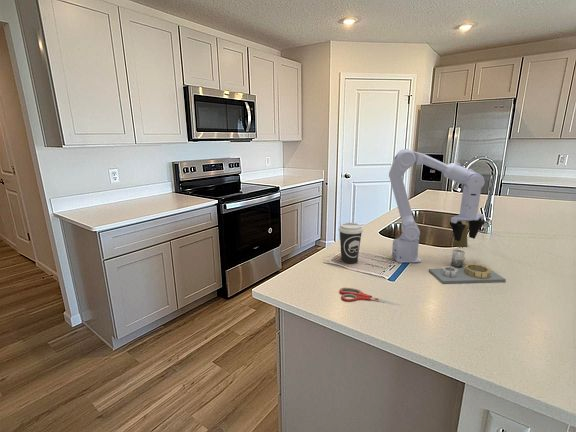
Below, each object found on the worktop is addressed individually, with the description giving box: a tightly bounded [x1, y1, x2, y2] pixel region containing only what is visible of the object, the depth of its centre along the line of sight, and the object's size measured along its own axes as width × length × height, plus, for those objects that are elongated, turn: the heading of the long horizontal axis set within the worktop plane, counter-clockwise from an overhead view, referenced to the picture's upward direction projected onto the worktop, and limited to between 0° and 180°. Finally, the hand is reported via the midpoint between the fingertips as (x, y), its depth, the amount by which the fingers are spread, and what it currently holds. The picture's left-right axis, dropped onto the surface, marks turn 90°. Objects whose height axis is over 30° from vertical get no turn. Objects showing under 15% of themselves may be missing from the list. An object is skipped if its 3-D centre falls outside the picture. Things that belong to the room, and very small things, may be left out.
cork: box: [452, 221, 469, 249], centre depth 140 cm, size 6×6×11 cm
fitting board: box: [428, 267, 507, 285], centre depth 111 cm, size 22×10×1 cm, turn 92°
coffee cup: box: [338, 222, 364, 265], centre depth 124 cm, size 10×10×15 cm
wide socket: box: [463, 263, 492, 279], centre depth 110 cm, size 8×8×2 cm
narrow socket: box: [441, 265, 458, 278], centre depth 110 cm, size 5×5×2 cm
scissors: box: [339, 287, 404, 307], centre depth 97 cm, size 8×21×2 cm, turn 77°
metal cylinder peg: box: [450, 249, 466, 268], centre depth 119 cm, size 4×4×6 cm
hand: (464, 239), depth 119 cm, fingers open, 7 cm apart
